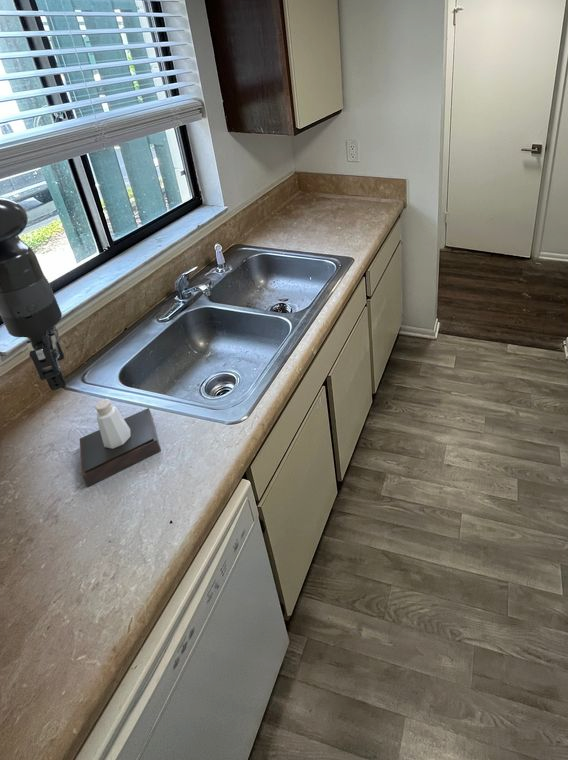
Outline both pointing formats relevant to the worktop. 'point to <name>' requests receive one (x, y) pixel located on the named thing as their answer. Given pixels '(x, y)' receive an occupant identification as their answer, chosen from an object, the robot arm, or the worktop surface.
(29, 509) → the worktop surface
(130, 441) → the wedge
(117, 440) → the pepper shaker
